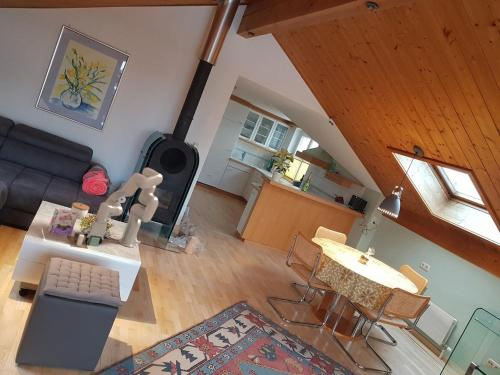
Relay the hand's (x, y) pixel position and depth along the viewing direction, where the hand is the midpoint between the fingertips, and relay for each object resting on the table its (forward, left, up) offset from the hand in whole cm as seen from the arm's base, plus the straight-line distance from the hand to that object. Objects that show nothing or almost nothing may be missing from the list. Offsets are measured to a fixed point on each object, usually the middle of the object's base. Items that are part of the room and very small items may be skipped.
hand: (92, 243), depth 265 cm
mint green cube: (0, 0, -2) cm, 2 cm away
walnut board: (+10, -1, -2) cm, 10 cm away
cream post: (+10, +4, -1) cm, 11 cm away
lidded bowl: (+1, -52, -2) cm, 52 cm away
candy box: (+19, -13, -2) cm, 23 cm away
